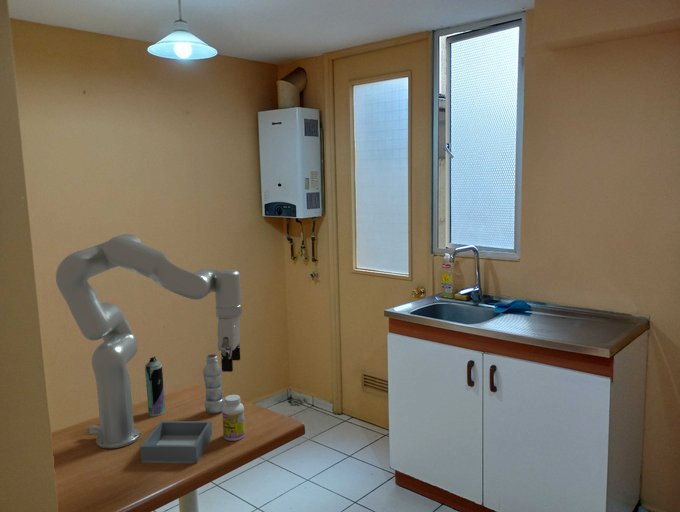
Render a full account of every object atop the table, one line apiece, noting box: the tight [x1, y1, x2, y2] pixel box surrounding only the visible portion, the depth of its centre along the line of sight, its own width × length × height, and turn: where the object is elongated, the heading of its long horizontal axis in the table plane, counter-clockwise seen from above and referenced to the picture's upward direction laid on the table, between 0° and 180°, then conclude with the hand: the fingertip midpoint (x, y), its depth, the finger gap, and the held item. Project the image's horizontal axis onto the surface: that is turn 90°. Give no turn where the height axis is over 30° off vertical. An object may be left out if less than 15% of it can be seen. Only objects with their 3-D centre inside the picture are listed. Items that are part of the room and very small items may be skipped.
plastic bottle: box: [202, 353, 226, 414], centre depth 189 cm, size 6×7×20 cm
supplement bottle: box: [221, 394, 246, 442], centre depth 171 cm, size 7×7×13 cm
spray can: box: [144, 356, 166, 417], centre depth 189 cm, size 6×6×20 cm
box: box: [139, 420, 213, 464], centre depth 165 cm, size 16×16×5 cm
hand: (231, 365), depth 169 cm, fingers open, 9 cm apart
